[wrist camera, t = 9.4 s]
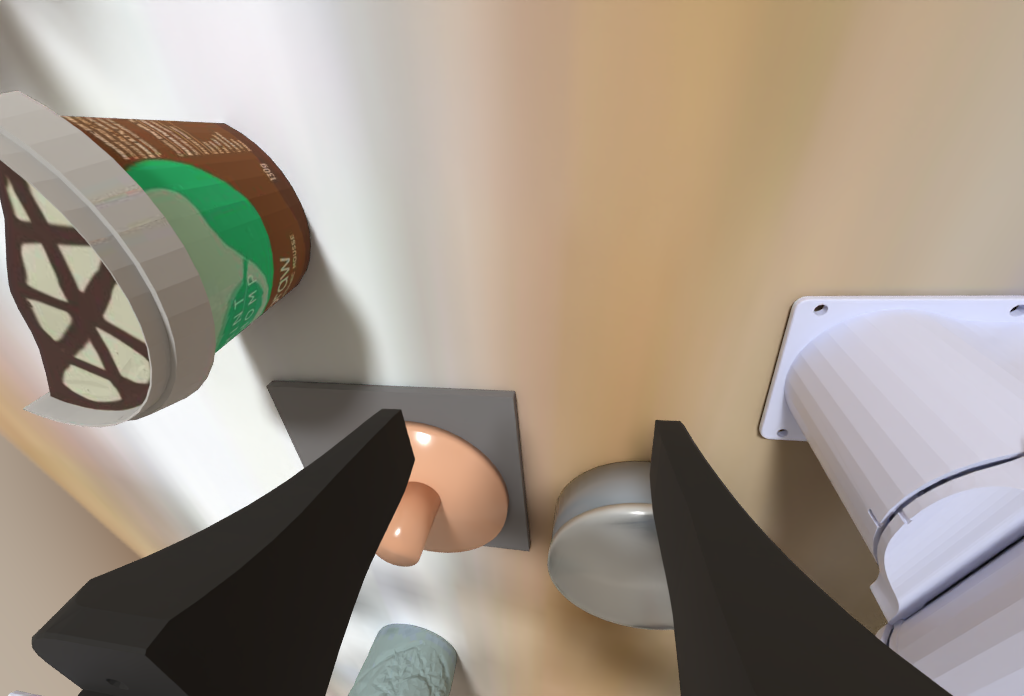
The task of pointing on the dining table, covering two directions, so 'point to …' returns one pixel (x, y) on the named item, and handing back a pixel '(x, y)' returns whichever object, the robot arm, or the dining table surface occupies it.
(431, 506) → the lid
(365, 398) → the mat
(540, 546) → the dining table surface
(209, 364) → the food container
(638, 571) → the bowl
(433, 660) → the embossed green pot
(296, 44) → the dining table surface
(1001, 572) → the robot arm
